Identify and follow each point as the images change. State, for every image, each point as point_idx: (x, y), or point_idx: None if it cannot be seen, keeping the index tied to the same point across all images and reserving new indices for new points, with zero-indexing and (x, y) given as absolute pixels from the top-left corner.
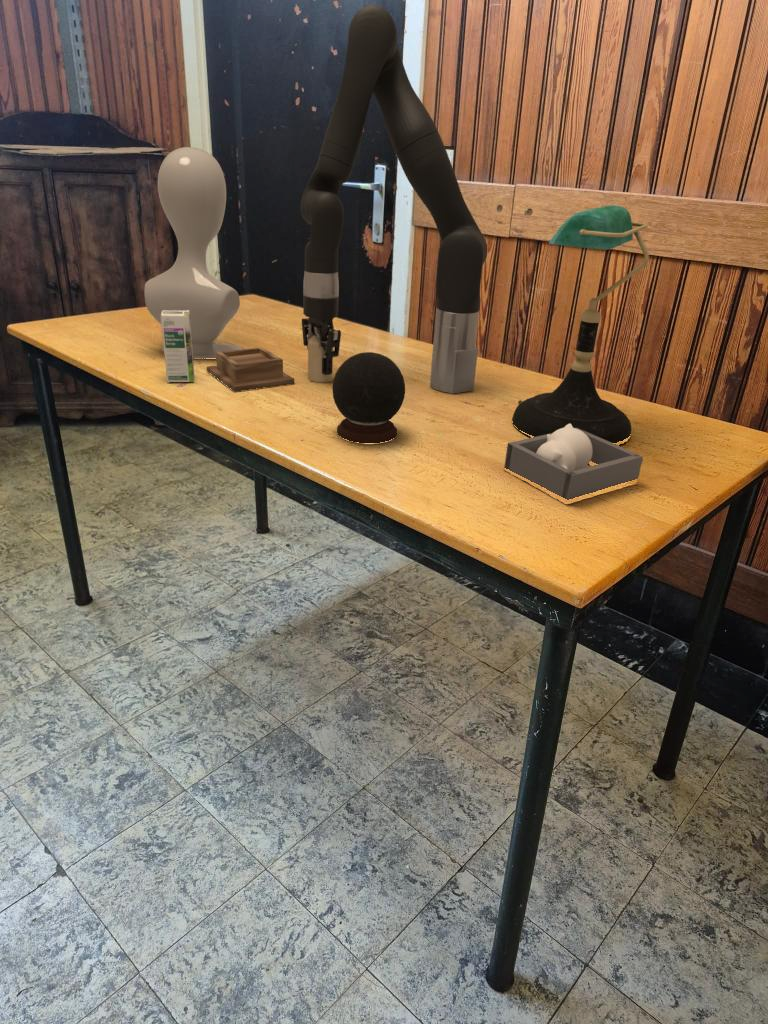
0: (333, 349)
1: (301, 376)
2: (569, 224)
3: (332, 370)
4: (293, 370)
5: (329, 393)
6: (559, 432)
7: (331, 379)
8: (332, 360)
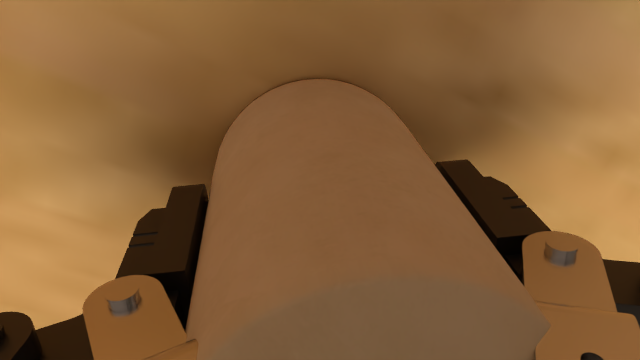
0: (610, 292)
1: None
2: None
3: (396, 122)
4: (29, 277)
5: (624, 229)
6: None
7: (393, 111)
8: (431, 168)
